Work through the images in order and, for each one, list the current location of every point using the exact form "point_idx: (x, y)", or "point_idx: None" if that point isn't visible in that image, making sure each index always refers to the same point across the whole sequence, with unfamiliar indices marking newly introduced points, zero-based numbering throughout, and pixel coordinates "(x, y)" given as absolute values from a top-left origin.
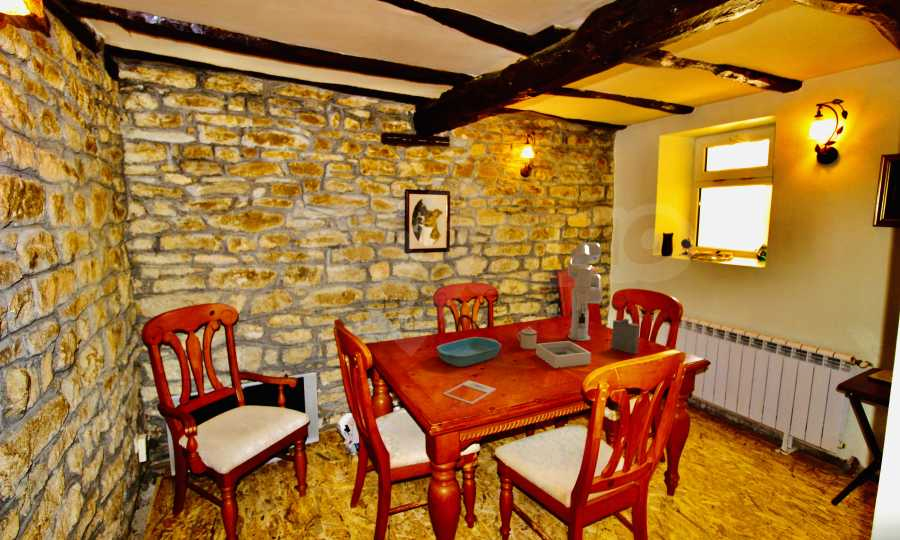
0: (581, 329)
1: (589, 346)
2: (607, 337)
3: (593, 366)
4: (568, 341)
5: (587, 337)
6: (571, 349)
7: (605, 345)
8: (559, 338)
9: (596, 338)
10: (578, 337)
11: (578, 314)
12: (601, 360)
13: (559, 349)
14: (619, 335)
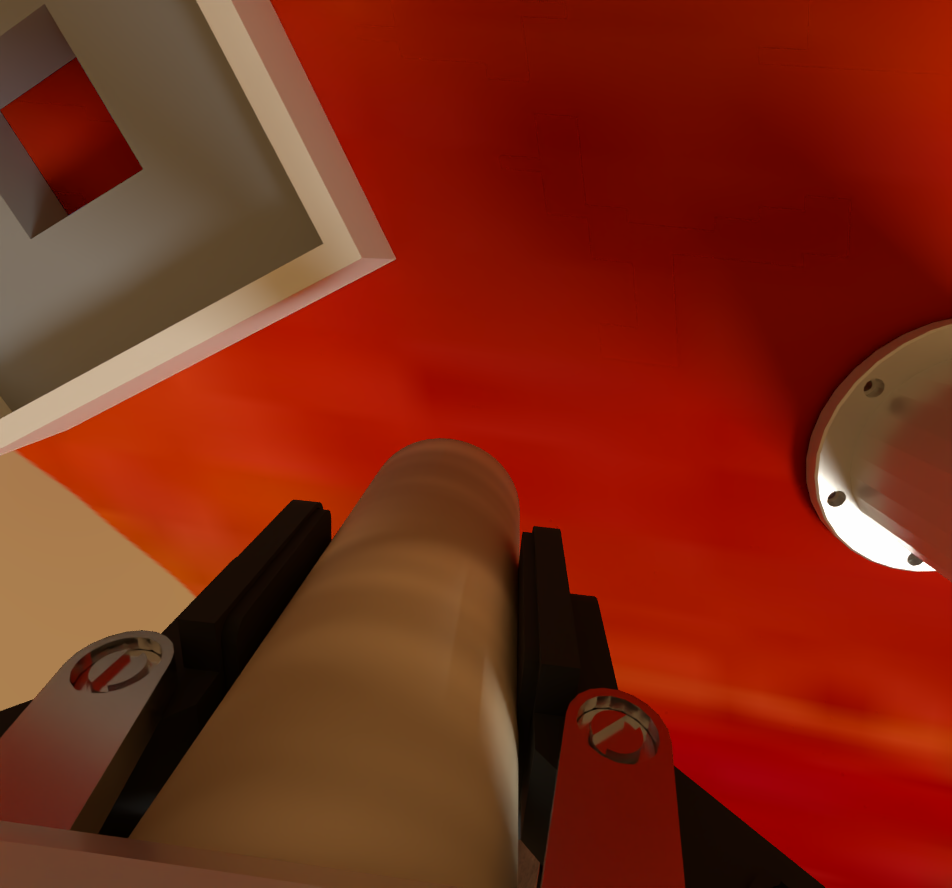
0: (941, 515)
1: (611, 508)
2: (928, 723)
3: (23, 447)
4: (325, 237)
5: (886, 540)
6: (251, 273)
7: (658, 655)
8: (944, 177)
9: (902, 622)
10: (867, 436)
11: (313, 641)
12: (209, 541)
13: (198, 96)
14: (529, 873)
